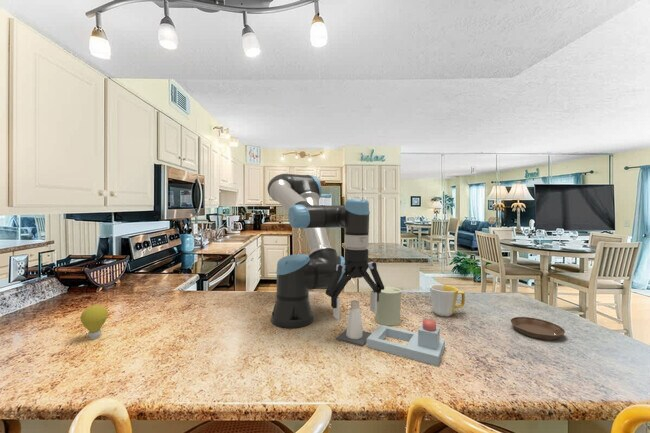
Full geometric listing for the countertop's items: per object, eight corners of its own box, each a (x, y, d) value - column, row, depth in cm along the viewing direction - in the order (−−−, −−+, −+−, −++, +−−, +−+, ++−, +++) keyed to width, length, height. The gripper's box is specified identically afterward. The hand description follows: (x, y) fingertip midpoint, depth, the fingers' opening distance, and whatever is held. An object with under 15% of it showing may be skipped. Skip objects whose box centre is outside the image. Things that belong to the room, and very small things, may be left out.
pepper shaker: (365, 338, 89) (365, 303, 89) (348, 340, 88) (348, 304, 88) (360, 331, 94) (360, 298, 94) (344, 332, 93) (344, 298, 93)
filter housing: (366, 346, 85) (367, 323, 85) (380, 332, 96) (380, 311, 95) (438, 366, 75) (438, 339, 75) (444, 347, 85) (445, 324, 85)
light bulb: (113, 335, 91) (113, 303, 91) (90, 344, 85) (89, 310, 84) (98, 331, 93) (98, 301, 93) (75, 340, 87) (74, 307, 86)
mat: (336, 339, 90) (336, 337, 90) (348, 329, 98) (348, 327, 98) (362, 346, 85) (362, 344, 85) (373, 335, 93) (373, 333, 93)
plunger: (421, 329, 81) (421, 322, 81) (423, 325, 84) (424, 318, 84) (434, 332, 79) (434, 325, 79) (436, 327, 82) (437, 320, 82)
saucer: (563, 347, 87) (563, 339, 86) (506, 333, 97) (506, 325, 96) (566, 332, 97) (566, 324, 97) (514, 320, 107) (514, 313, 107)
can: (401, 326, 100) (402, 292, 100) (374, 324, 102) (375, 290, 102) (400, 317, 109) (400, 285, 109) (375, 315, 111) (375, 284, 111)
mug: (433, 318, 108) (434, 290, 108) (426, 309, 118) (426, 283, 118) (471, 319, 107) (472, 292, 107) (460, 310, 117) (461, 284, 117)
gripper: (325, 251, 82) (324, 325, 83) (395, 247, 92) (394, 313, 93) (315, 248, 89) (314, 316, 89) (382, 245, 99) (380, 305, 100)
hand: (355, 314), depth 91 cm, fingers open, 13 cm apart
